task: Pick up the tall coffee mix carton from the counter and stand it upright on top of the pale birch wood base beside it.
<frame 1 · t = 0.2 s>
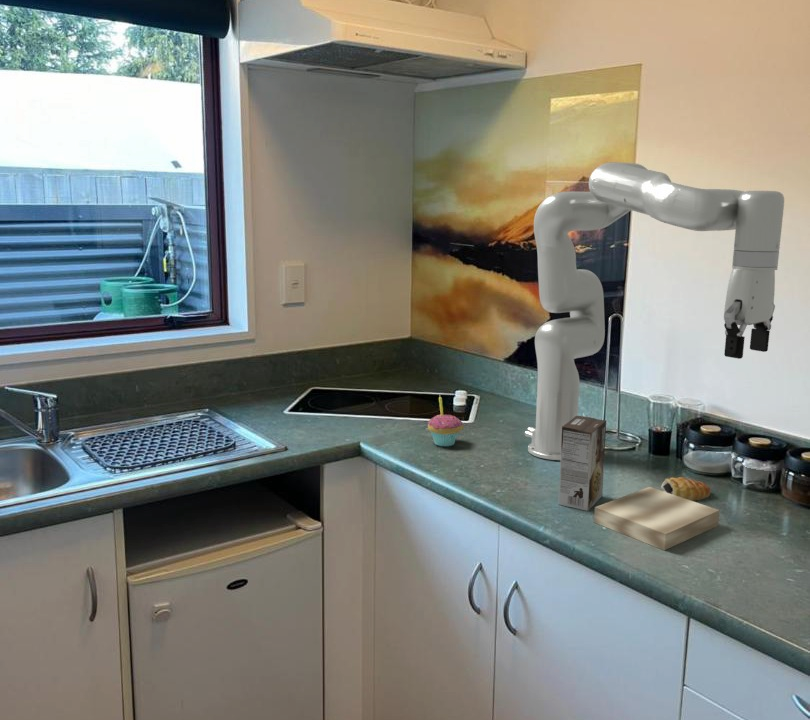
hand: (746, 353, 147), 31 cm above the worktop, tool pointing down, fingers open, 9 cm apart
pastry: (683, 497, 162), on the worktop
cupcake: (444, 444, 194), on the worktop
birch base: (655, 523, 148), on the worktop
coffee box: (580, 501, 159), on the worktop
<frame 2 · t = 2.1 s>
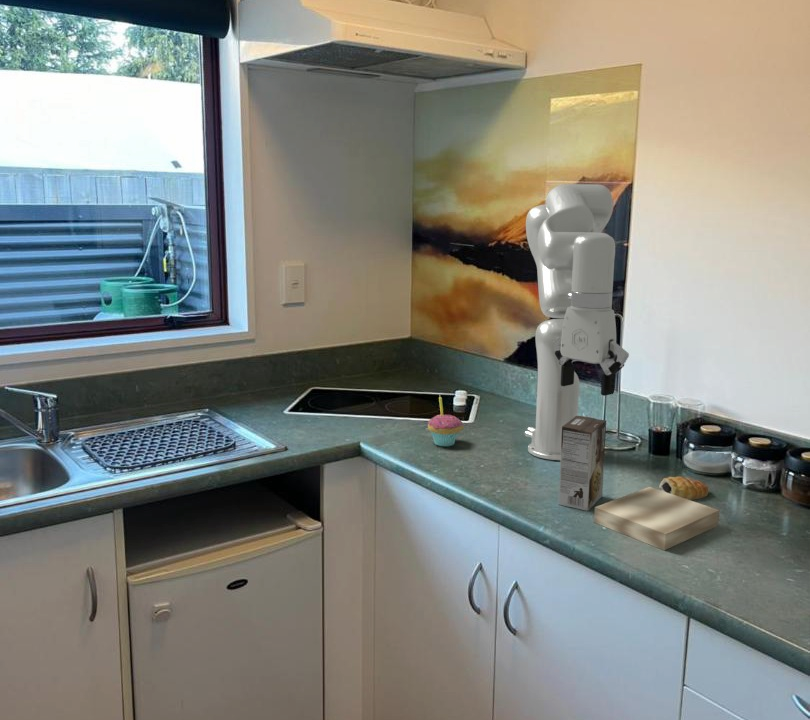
hand: (586, 389, 154), 23 cm above the worktop, tool pointing down, fingers open, 9 cm apart
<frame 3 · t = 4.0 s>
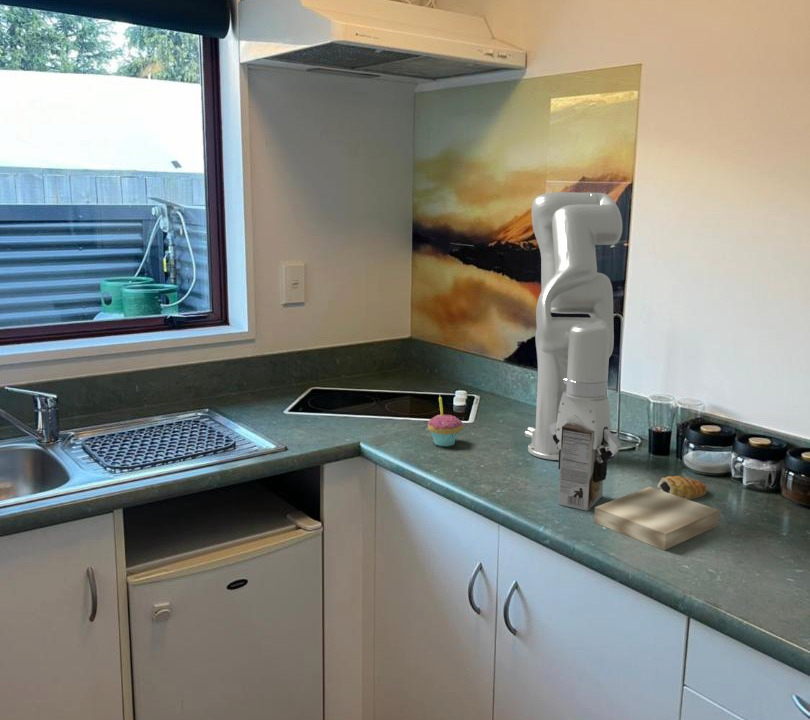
hand: (581, 474, 158), 6 cm above the worktop, tool pointing down, fingers closed on coffee box, 8 cm apart
coffee box: (580, 501, 159), on the worktop, touching gripper
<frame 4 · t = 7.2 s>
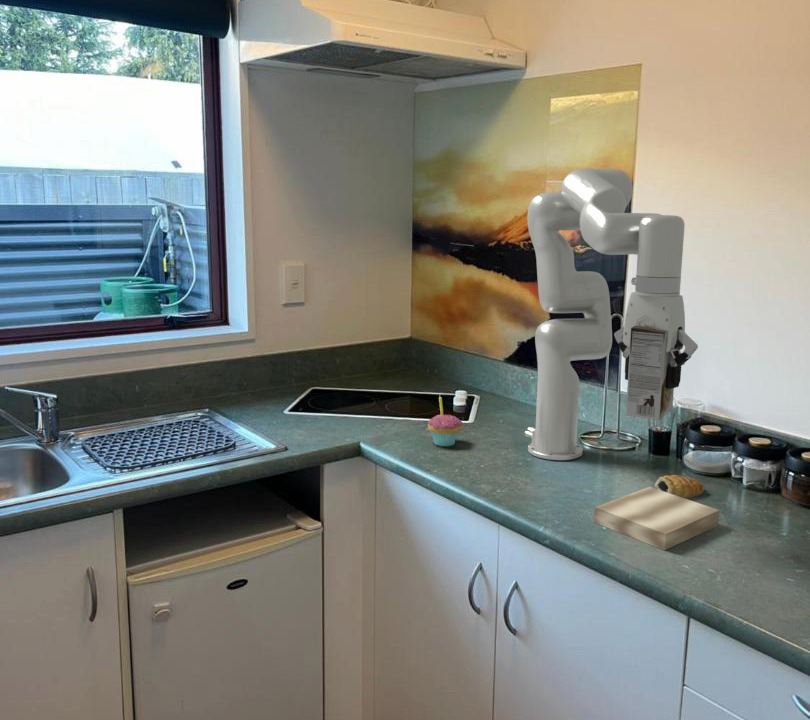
hand: (651, 382, 144), 26 cm above the worktop, tool pointing down, fingers closed on coffee box, 8 cm apart
coffee box: (649, 413, 145), point 21 cm above the worktop, touching gripper
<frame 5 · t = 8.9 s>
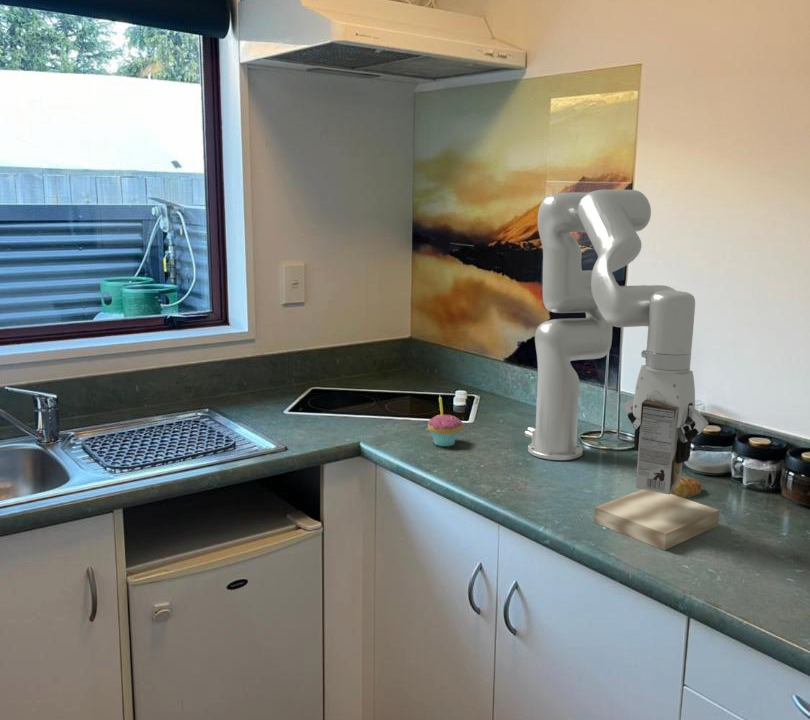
hand: (660, 455, 145), 13 cm above the worktop, tool pointing down, fingers closed on coffee box, 8 cm apart
coffee box: (658, 485, 146), point 8 cm above the worktop, touching gripper
when the fingers open (9 cm above the worktop, at t = 10.3 s): coffee box stays where it is, resting on birch base.
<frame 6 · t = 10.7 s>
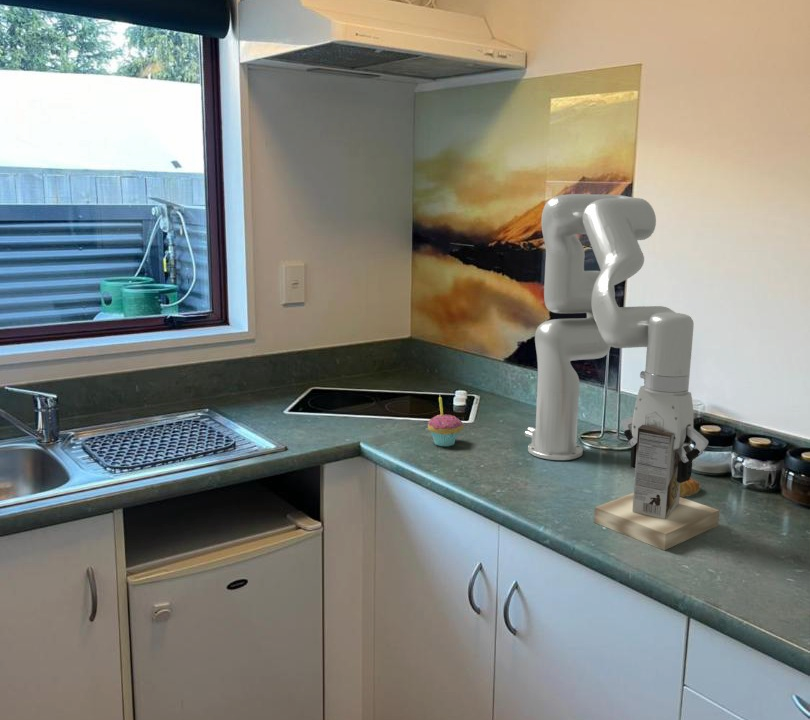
hand: (659, 473, 146), 10 cm above the worktop, tool pointing down, fingers open, 9 cm apart
coffee box: (655, 509, 148), point 3 cm above the worktop, touching birch base
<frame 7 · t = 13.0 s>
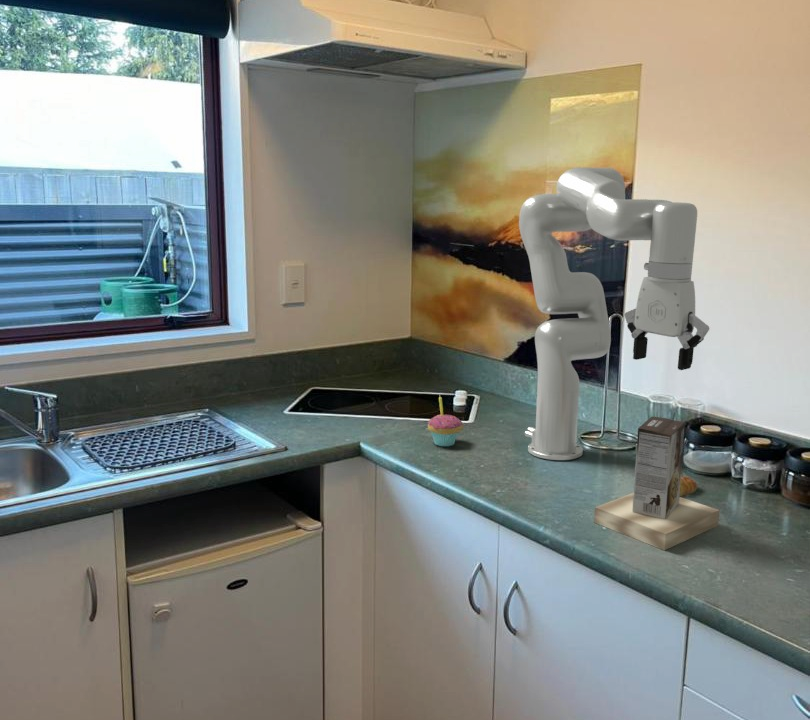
hand: (661, 363, 149), 29 cm above the worktop, tool pointing down, fingers open, 9 cm apart
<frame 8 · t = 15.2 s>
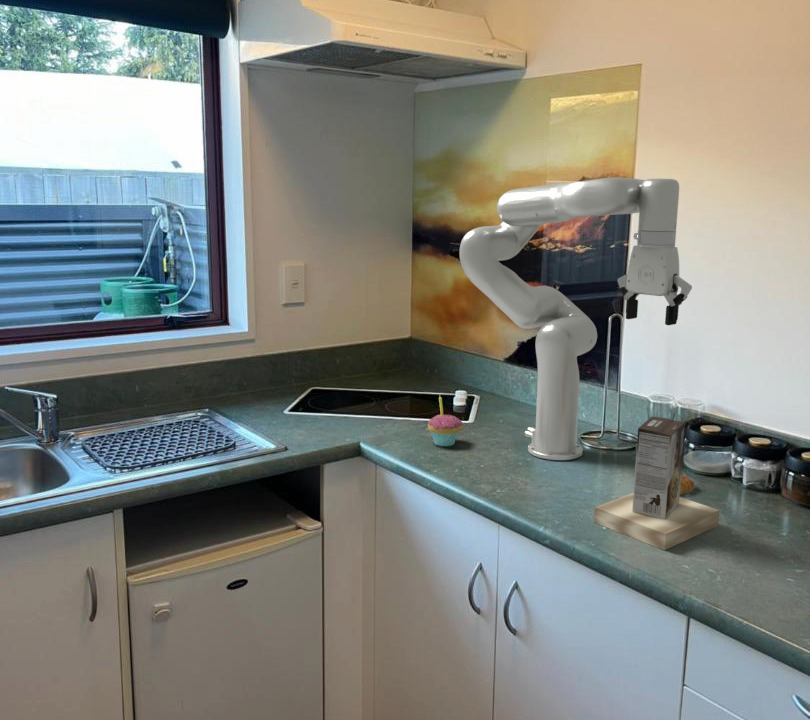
hand: (650, 321, 169), 33 cm above the worktop, tool pointing down, fingers open, 9 cm apart
at the end: coffee box inside the target area on the birch base (0.3 cm from its centre), point 2.8 cm above the birch base's base; coffee box tilted 0°; the gripper is holding nothing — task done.
